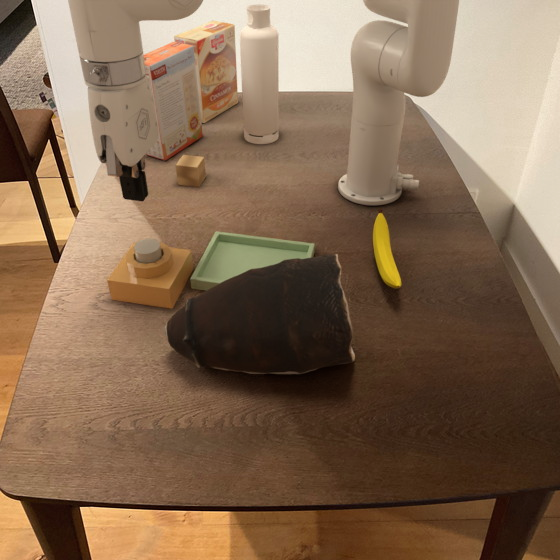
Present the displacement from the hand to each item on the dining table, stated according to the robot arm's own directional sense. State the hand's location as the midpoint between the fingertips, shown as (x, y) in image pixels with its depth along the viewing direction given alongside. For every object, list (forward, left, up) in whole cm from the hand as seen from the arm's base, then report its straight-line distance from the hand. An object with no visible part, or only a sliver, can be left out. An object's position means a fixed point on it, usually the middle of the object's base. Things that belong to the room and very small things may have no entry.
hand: (136, 197), depth 82 cm
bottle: (-4, -56, -17) cm, 59 cm away
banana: (-36, -11, -17) cm, 41 cm away
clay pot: (-21, +11, -17) cm, 28 cm away
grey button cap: (0, 0, -11) cm, 11 cm away
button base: (0, 0, -16) cm, 16 cm away
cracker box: (+14, -47, -17) cm, 52 cm away
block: (+5, -33, -16) cm, 37 cm away
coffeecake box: (+12, -68, -17) cm, 71 cm away
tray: (-15, -7, -16) cm, 23 cm away
